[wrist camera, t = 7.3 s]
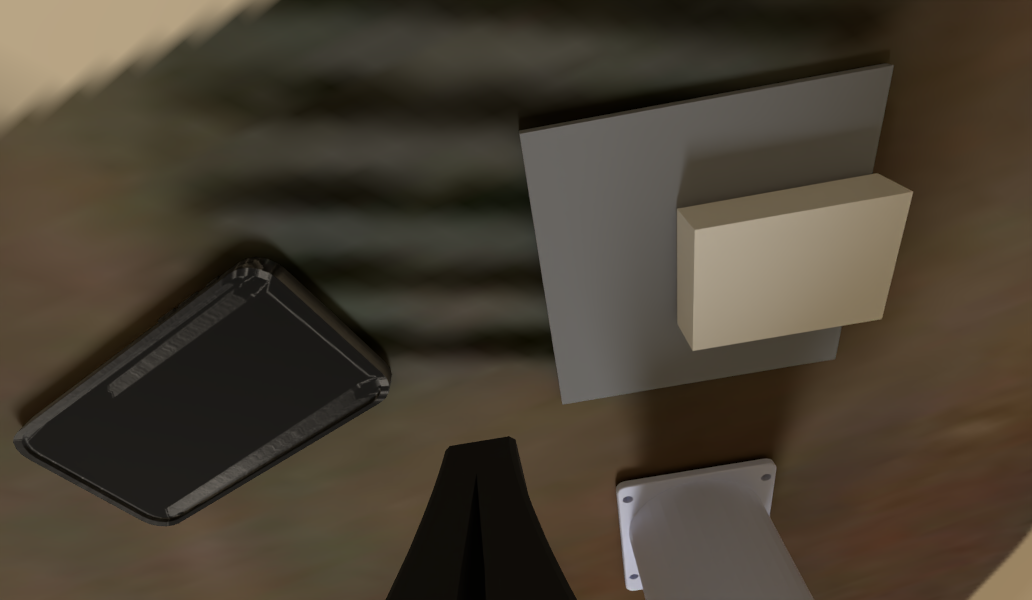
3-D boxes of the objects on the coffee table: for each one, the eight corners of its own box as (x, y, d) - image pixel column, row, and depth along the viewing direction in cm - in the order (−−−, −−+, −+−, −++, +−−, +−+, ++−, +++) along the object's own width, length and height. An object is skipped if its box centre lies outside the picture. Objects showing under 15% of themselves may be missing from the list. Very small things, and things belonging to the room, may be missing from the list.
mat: (830, 353, 24) (835, 358, 23) (561, 398, 24) (562, 404, 24) (885, 63, 17) (893, 65, 17) (519, 130, 18) (519, 134, 17)
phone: (401, 390, 22) (163, 533, 26) (404, 372, 23) (173, 513, 27) (250, 253, 19) (-3, 443, 22) (261, 239, 20) (17, 423, 23)
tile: (675, 320, 22) (849, 291, 21) (692, 351, 20) (881, 319, 20) (675, 206, 19) (873, 171, 19) (694, 230, 17) (912, 191, 17)
